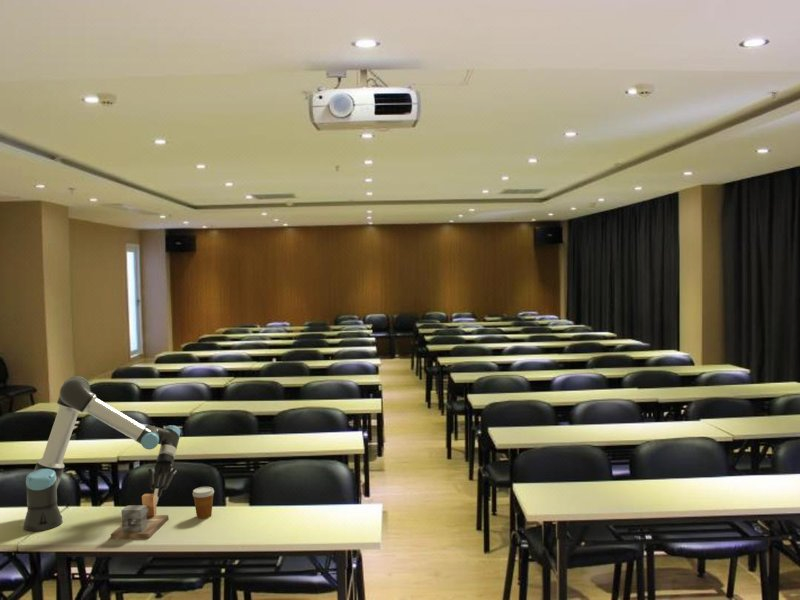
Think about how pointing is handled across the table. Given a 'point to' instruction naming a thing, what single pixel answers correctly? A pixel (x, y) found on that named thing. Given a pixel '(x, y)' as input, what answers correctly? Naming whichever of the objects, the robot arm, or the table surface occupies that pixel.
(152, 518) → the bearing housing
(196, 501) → the disposable coffee cup
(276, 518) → the table surface
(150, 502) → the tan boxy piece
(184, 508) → the table surface
